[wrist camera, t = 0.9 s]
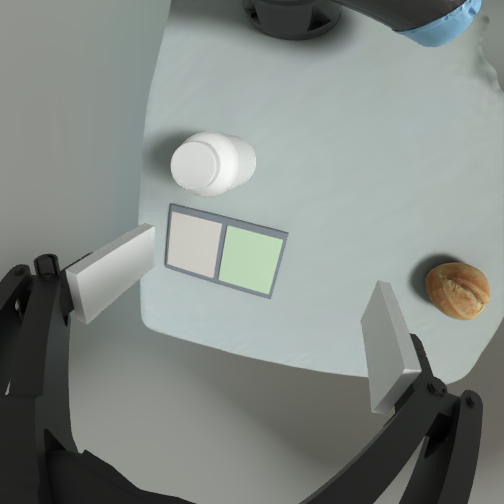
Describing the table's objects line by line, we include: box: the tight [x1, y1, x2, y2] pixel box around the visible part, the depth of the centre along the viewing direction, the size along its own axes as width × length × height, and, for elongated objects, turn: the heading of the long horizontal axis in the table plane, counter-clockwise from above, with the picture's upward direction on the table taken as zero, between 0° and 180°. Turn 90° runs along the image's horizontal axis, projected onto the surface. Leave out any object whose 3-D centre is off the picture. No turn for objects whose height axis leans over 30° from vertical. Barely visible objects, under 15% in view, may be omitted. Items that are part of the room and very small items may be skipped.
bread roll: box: [425, 262, 490, 320], centre depth 35 cm, size 10×15×8 cm, turn 75°
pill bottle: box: [171, 131, 256, 197], centre depth 33 cm, size 8×8×15 cm
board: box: [166, 204, 288, 299], centre depth 45 cm, size 12×20×1 cm, turn 79°
